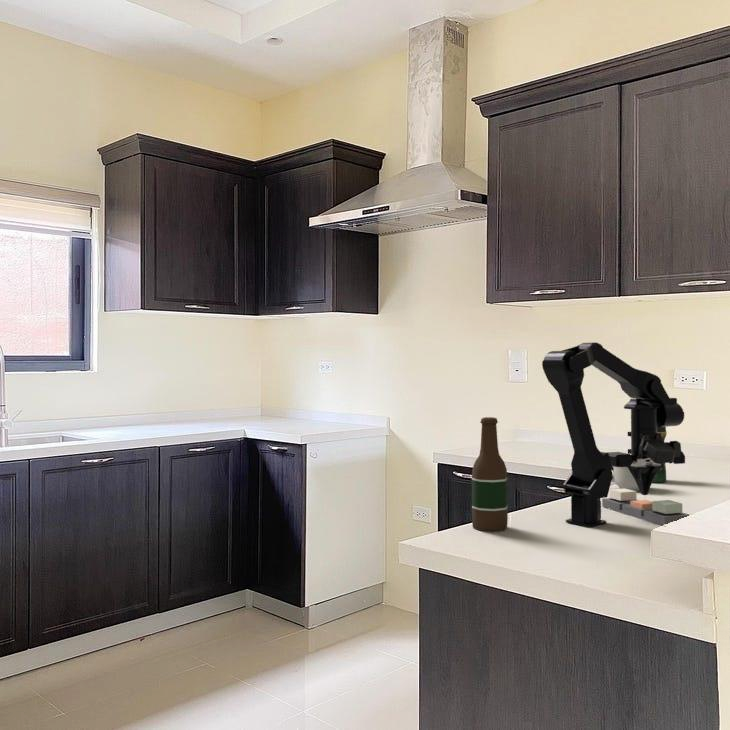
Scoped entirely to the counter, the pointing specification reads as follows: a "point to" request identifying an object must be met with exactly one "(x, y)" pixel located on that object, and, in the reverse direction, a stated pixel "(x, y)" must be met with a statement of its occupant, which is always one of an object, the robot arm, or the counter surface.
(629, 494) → the cream button
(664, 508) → the sage button
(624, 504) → the button bank
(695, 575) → the counter surface
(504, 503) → the beer bottle
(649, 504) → the terracotta button
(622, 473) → the teacup
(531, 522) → the counter surface
